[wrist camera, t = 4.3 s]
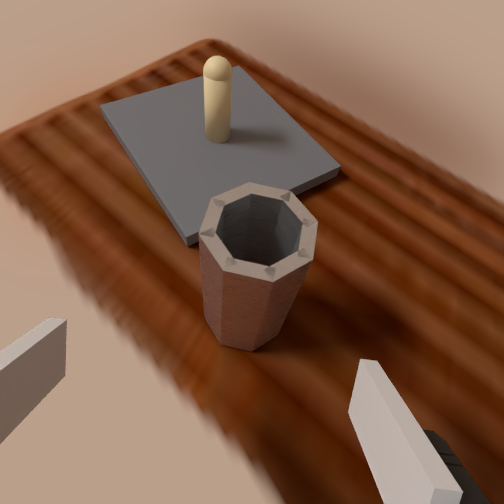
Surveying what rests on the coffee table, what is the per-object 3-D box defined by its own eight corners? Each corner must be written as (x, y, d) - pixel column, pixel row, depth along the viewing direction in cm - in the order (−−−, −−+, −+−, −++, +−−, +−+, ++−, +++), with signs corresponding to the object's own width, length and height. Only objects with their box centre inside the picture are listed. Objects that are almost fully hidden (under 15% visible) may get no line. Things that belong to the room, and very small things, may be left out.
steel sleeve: (294, 324, 29) (338, 244, 18) (232, 364, 26) (242, 299, 16) (254, 268, 31) (273, 171, 21) (194, 301, 29) (182, 210, 19)
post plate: (336, 176, 38) (370, 94, 30) (187, 246, 32) (177, 167, 23) (238, 76, 46) (243, -10, 38) (103, 117, 40) (73, 23, 31)
